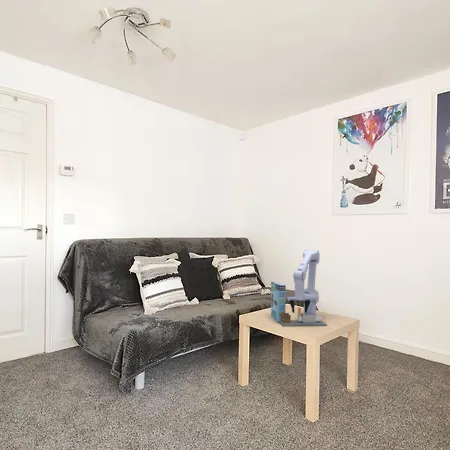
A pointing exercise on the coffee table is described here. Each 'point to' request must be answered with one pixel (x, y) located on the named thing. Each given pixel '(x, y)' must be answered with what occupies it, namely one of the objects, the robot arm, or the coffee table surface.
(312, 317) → the sleeve
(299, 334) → the coffee table surface
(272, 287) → the gum box
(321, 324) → the base board
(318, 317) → the blocks
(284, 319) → the socket
